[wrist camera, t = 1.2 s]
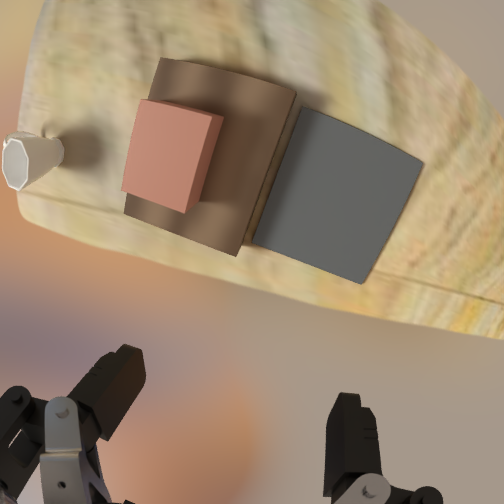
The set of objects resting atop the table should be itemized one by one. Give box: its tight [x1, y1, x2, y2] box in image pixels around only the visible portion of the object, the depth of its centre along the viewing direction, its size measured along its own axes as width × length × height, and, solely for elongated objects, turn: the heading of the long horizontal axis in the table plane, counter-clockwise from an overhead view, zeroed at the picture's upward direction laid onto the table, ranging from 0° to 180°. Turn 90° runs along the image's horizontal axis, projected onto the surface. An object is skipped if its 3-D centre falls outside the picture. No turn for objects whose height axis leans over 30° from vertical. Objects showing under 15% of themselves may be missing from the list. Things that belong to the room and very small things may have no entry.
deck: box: [124, 58, 297, 257], centre depth 29 cm, size 14×18×3 cm
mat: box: [252, 107, 423, 284], centre depth 30 cm, size 14×16×1 cm
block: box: [121, 99, 224, 214], centre depth 26 cm, size 7×9×4 cm
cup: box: [2, 131, 65, 191], centre depth 29 cm, size 7×10×8 cm
